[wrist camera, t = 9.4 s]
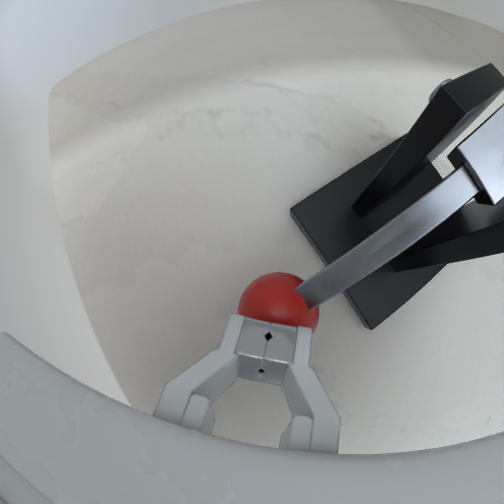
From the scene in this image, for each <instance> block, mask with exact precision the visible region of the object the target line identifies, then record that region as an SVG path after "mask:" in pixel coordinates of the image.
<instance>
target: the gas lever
mask: <svg viewBox="0 0 504 504" xmlns="http://www.w3.org/2000/svg"><path fill="white" fill-rule="evenodd" d="M447 158H448V159H449V161H450V162H451V163H452V165H453V166H454V168H455V169H454V170H453V171H452V172H451V173H450V174H448V175H447V176H446V177H445V178H443V179H442V180H441V181H440V182H439V183H437V184H436V185H435V186H434V187H432V188H431V189H430V190H429V191H427V192H426V193H425V194H424V195H422V196H421V197H420V198H419V199H417V200H416V201H415V202H414V203H412V204H411V205H410V206H408V207H407V208H406V209H404V210H403V211H402V212H401V213H399V214H398V215H397V216H395V217H394V218H393V219H391V220H390V221H389V222H387V223H386V224H385V225H383V226H382V227H381V228H379V229H378V230H377V231H375V232H374V233H372V234H371V235H370V236H368V237H367V238H366V239H364V240H363V241H361V242H360V243H359V244H357V245H356V246H354V247H353V248H352V249H350V250H349V251H347V252H346V253H345V254H343V255H342V256H340V257H339V258H337V259H336V260H334V261H333V262H332V263H330V264H329V265H327V266H326V267H324V268H323V269H321V270H320V271H318V272H317V273H315V274H314V275H312V276H311V277H309V278H308V279H306V280H305V281H303V280H302V279H300V278H299V277H297V276H295V275H292V274H289V273H283V272H276V273H269V274H266V275H263V276H261V277H259V278H257V279H256V280H254V281H253V282H252V283H251V284H250V285H249V286H248V287H247V288H246V289H245V291H244V293H243V294H242V296H241V299H240V302H239V306H238V315H243V316H247V317H252V318H256V319H261V320H266V321H270V322H271V321H273V322H279V323H285V324H292V325H298V326H302V327H309V328H312V334H313V332H314V331H315V328H316V326H317V323H318V318H319V305H320V304H322V303H324V302H325V301H327V300H329V299H330V298H332V297H334V296H335V295H337V294H339V293H340V292H342V291H344V290H345V289H347V288H348V287H350V286H352V285H353V284H355V283H356V282H358V281H360V280H361V279H363V278H364V277H366V276H367V275H369V274H370V273H372V272H373V271H375V270H377V269H378V268H380V267H381V266H383V265H384V264H386V263H387V262H388V261H390V260H391V259H393V258H394V257H396V256H397V255H399V254H400V253H402V252H403V251H404V250H406V249H407V248H409V247H410V246H411V245H413V244H414V243H416V242H417V241H418V240H420V239H421V238H423V237H424V236H425V235H427V234H428V233H429V232H431V231H432V230H433V229H435V228H436V227H437V226H439V225H440V224H441V223H442V222H444V221H445V220H446V219H448V218H449V217H450V216H451V215H453V214H454V213H455V212H456V211H458V210H459V209H460V208H461V207H463V206H464V205H465V204H466V203H468V202H469V201H470V200H471V199H472V198H474V199H475V200H476V202H477V203H478V204H484V205H491V206H496V205H497V204H498V203H499V202H500V201H501V200H503V199H504V104H503V105H502V106H501V107H499V108H498V109H497V110H496V111H495V112H494V113H493V114H492V115H491V116H490V117H489V118H488V119H486V120H485V121H484V122H483V123H482V124H481V125H480V126H479V127H478V128H476V129H475V130H474V131H473V132H472V133H471V134H470V135H468V136H467V137H466V138H465V139H464V140H463V141H462V142H460V143H459V144H458V145H457V146H456V147H455V148H454V149H453V150H452V151H451V152H450V154H449V155H448V156H447Z"/></svg>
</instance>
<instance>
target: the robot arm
mask: <svg viewBox="0 0 504 504" xmlns="http://www.w3.org/2000/svg"><path fill="white" fill-rule="evenodd" d="M311 339H312V328H309V327H302V326H298V325H292V324H285V323H279V322H273V321H271V322H270V321H266V320H261V319H256V318H252V317H247V316H243V315H238V314H233V313H232V314H231V316H230V318H229V321H228V324H227V327H226V330H225V333H224V335H223V338H222V341H221V344H220V347H219V350H217V349H214V350H213V351H211V352H210V353H209V354H207V355H206V356H204V357H203V358H202V359H200V360H199V361H198V362H196V363H195V364H193V365H192V366H191V367H189V368H188V369H186V370H185V371H184V372H182V373H181V374H179V375H178V376H176V377H175V378H174V379H172V380H171V381H169V382H168V383H166V386H165V388H164V390H163V393H162V395H161V397H160V400H159V402H158V404H157V407H156V409H155V411H154V414H153V416H152V415H149V414H147V413H144V412H142V411H139V410H137V409H135V408H132V407H130V406H128V405H125V404H123V403H121V402H119V401H117V400H114V399H112V398H110V397H108V396H106V395H104V394H102V393H100V392H98V391H96V390H94V389H92V388H90V387H89V386H87V385H85V384H83V383H81V382H79V381H78V380H76V379H74V378H72V377H70V376H69V375H67V374H66V373H64V372H62V371H60V370H59V369H58V368H56V367H54V366H53V365H51V364H50V363H48V362H46V361H45V360H44V359H42V358H41V357H39V356H38V355H36V354H35V353H33V352H32V351H31V350H29V349H28V348H26V347H25V346H24V345H22V344H21V343H20V342H18V341H17V340H16V339H15V338H13V337H12V336H11V335H9V334H8V333H5V332H2V333H0V504H504V431H503V432H500V433H497V434H494V435H490V436H487V437H483V438H480V439H476V440H472V441H468V442H464V443H459V444H455V445H450V446H444V447H439V448H433V449H426V450H418V451H410V452H399V453H384V454H338V446H339V436H340V425H341V418H340V416H339V414H338V412H337V411H336V409H335V407H334V405H333V403H332V402H331V400H330V398H329V396H328V394H327V393H326V391H325V389H324V387H323V385H322V384H321V382H320V380H319V378H318V376H317V375H316V373H315V371H314V369H313V368H312V367H309V360H310V350H311ZM238 377H239V378H244V379H249V380H255V381H260V382H265V383H270V384H275V385H280V386H281V389H282V392H283V394H284V396H285V399H286V401H287V404H288V406H289V409H290V411H291V414H292V416H293V419H292V420H291V422H290V423H289V424H288V426H287V427H286V429H285V430H284V431H283V433H282V434H281V439H280V444H279V449H278V448H271V447H265V446H259V445H254V444H249V443H244V442H239V441H235V440H230V439H226V438H222V437H218V436H214V435H211V433H212V429H213V426H214V422H215V419H214V415H213V411H212V406H211V402H212V401H214V400H215V399H216V398H217V397H218V396H219V395H220V394H221V393H223V392H224V391H225V390H226V389H227V388H228V387H229V386H230V385H231V384H232V383H233V382H235V381H236V380H237V379H238Z"/></svg>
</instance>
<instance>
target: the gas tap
mask: <svg viewBox="0 0 504 504" xmlns="http://www.w3.org/2000/svg"><path fill="white" fill-rule="evenodd" d="M503 90H504V77H503V75H502V74H501V73H500V72H499V71H498V70H497V69H496V68H495V66H494V65H493V64H492V63H489V64H487V65H485V66H482V67H480V68H478V69H476V70H473V71H471V72H469V73H467V74H465V75H462V76H460V77H458V78H456V79H454V80H452V79H447V80H445V81H443V82H442V83H441V84H440V85H439V86H438V87H437V88H436V89H435V90H434V91H433V92H432V94H431V95H430V97H429V104H428V105H427V107H426V108H425V109H424V111H423V112H422V114H421V115H420V117H419V118H418V119H417V121H416V122H415V124H414V125H413V126H412V128H411V129H410V131H409V132H408V133H406V134H405V135H403V136H402V137H400V138H398V139H397V140H395V141H394V142H392V143H391V144H389V145H387V146H386V147H384V148H383V149H381V150H379V151H378V152H376V153H375V154H373V155H372V156H370V157H369V158H367V159H365V160H364V161H362V162H361V163H359V164H358V165H356V166H355V167H353V168H351V169H350V170H348V171H347V172H345V173H344V174H342V175H341V176H339V177H337V178H336V179H334V180H333V181H331V182H330V183H328V184H327V185H325V186H324V187H322V188H321V189H319V190H318V191H316V192H314V193H313V194H311V195H310V196H308V197H307V198H305V199H304V200H302V201H301V202H299V203H298V204H296V205H295V206H293V207H292V208H291V209H290V215H291V217H292V218H293V219H294V221H295V222H296V224H297V225H298V226H299V228H300V229H301V231H302V232H303V234H304V235H305V236H306V238H307V239H308V241H309V242H310V244H311V245H312V246H313V248H314V249H315V251H316V252H317V254H318V255H319V257H320V258H321V260H322V261H323V263H324V264H325V265H326V266H327V265H329V264H330V263H332V262H333V261H334V260H336V259H337V258H339V257H340V256H342V255H343V254H345V253H346V252H347V251H349V250H350V249H352V248H353V247H354V246H356V245H357V244H359V243H360V242H361V241H363V240H364V239H366V238H367V237H368V236H370V235H371V234H372V233H374V232H375V231H377V230H378V229H379V228H381V227H382V226H383V225H385V224H386V223H387V222H389V221H390V220H391V219H393V218H394V217H395V216H397V215H398V214H399V213H401V212H402V211H403V210H404V209H406V208H407V207H408V206H410V205H411V204H412V203H414V202H415V201H416V200H417V199H419V198H420V197H421V196H422V195H424V194H425V193H426V192H427V191H429V190H430V189H431V188H432V187H434V186H435V185H436V184H437V183H439V182H440V181H441V180H442V179H443V178H442V177H441V176H440V174H439V173H438V171H437V170H436V169H435V167H434V166H433V164H432V163H431V162H432V161H433V160H434V159H435V158H436V157H438V156H439V155H440V154H441V153H442V152H443V151H444V150H445V149H446V148H447V147H448V146H449V145H450V144H451V143H452V142H453V141H454V140H455V139H456V138H457V137H458V136H459V135H460V134H461V133H462V132H463V131H464V130H465V129H466V128H467V127H468V126H469V125H470V124H471V123H472V122H473V121H474V120H475V119H476V118H477V117H478V116H479V115H480V114H481V113H482V112H483V111H484V110H485V109H486V108H487V107H488V106H489V105H490V104H491V103H492V102H493V101H494V100H495V98H496V97H497V96H498V95H499V94H500V93H501V92H502V91H503ZM499 253H504V199H503V200H501V201H500V202H499V203H498V204H497V205H496V206H491V205H484V204H478V203H477V202H476V200H474V201H472V202H470V203H469V204H467V205H465V206H463V207H461V208H460V209H459V210H458V211H456V212H455V213H454V214H453V215H451V216H450V217H449V218H448V219H446V220H445V221H444V222H442V223H441V224H440V225H439V226H437V227H436V228H435V229H433V230H432V231H431V232H429V233H428V234H427V235H425V236H424V237H423V238H421V239H420V240H418V241H417V242H416V243H414V244H413V245H411V246H410V247H409V248H407V249H406V250H404V251H403V252H402V253H400V254H399V255H397V256H396V257H394V258H393V259H391V260H390V261H388V262H387V263H386V264H384V265H383V266H381V267H380V268H378V269H377V270H375V271H373V272H372V273H370V274H369V275H367V276H366V277H364V278H363V279H361V280H360V281H358V282H356V283H355V284H353V285H352V286H350V287H348V288H347V289H345V290H344V291H343V293H344V294H345V296H346V297H347V299H348V300H349V302H350V304H351V305H352V307H353V308H354V310H355V311H356V313H357V315H358V316H359V318H360V319H361V321H362V323H363V324H364V326H365V327H366V328H368V329H370V330H372V329H374V328H375V327H376V326H378V325H379V324H380V323H381V322H383V321H384V320H385V319H386V318H388V317H389V316H390V315H391V314H393V313H394V312H395V311H396V310H397V309H399V308H400V307H401V306H402V305H403V304H405V303H406V302H407V301H408V300H409V299H410V298H411V297H413V296H414V295H415V294H416V293H417V292H418V291H419V290H420V289H421V288H423V287H424V286H425V285H426V284H427V283H428V282H429V281H430V280H431V279H432V278H433V277H434V276H435V275H436V274H437V273H438V272H439V271H440V270H442V269H443V268H444V267H445V266H446V265H447V264H448V263H454V262H459V261H464V260H470V259H475V258H480V257H485V256H490V255H495V254H499Z"/></svg>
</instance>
